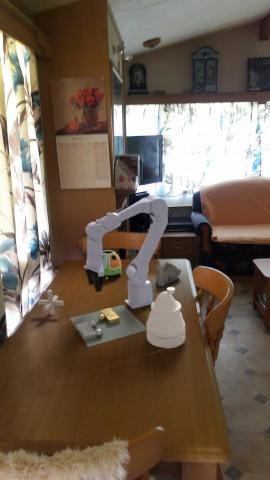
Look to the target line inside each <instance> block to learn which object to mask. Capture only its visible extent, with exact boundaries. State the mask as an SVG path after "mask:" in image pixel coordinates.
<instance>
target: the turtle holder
mask: <svg viewBox="0 0 270 480" xmlns="http://www.w3.org/2000/svg"><path fill="white" fill-rule="evenodd" d="M102 264H103V270H104V274H105V273H106V274H107V277H106V279H105V280H109V277H108V276H115V275H119V276H122V275H123V274H122V260H121V258H120V256H119V255H118V254H117V252H115V251H114V250H111V249H106V250H102Z"/></svg>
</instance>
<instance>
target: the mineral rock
mask: <svg viewBox="0 0 270 480" xmlns="http://www.w3.org/2000/svg"><path fill="white" fill-rule="evenodd" d="M181 272H182V269H181V268H178V267H176V265H174V264H172V263H171V262H170V263H169V262H167V261H166V262H165V263H164V264H162V265H160V266H159V265H158V266H157V267H156V278H155V285H157V286H158V287H165V286H166V285H167V286H168V285H169V284H170V283H172V282H174V281H177V280H178V279H179V278H180V277H179V276H180V275H181Z"/></svg>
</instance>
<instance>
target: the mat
mask: <svg viewBox="0 0 270 480" xmlns="http://www.w3.org/2000/svg"><path fill="white" fill-rule="evenodd" d="M110 308H111V309H112V310H113V311H114V312H115V313H116V314H117V315H118V316H119V317H120V323H116V324H113V325H109V324H108V323H107V321H106V320H105V321H104V322H100V320H99V319H98V315H99V314H101V310H97V311H93V312H89V313H86V314H85V313H84V314H82V315H77V316H73V317H69V320H70V321H71V323H72V325H73V326H74V328H75V329H76V330H77V332H78V334H79V336H80V337H81V338H82V340H83V341H84V343H85V345H86V346H87V347H88V348H89V347H93V346H97V345H100V344H103V343H107V342H111V341H113V340H117V339H120V338H124V337H127V336H131V335H135V334H138V333H141V332H146V331H147V328H146V327H147V326H145V325H144V324H143V323H142V322H141V321H140V320H139V319H138V318H137V317H136V316H135V314H133V313H132V312H131V310H129V309H128V308H127V307H126V306H125V305H123V304H121V305H117V306H113V307H110ZM90 320H94V321H95V322H96V324H97V326H96V328H100V329H101V330H102V331H103V336H102V337H100V338H99V337H97V338H96V339H93V340H89V341H86V342H85V340H84V339H83V337H82V336H81V334H80V333H79V331H78V329H77V324H80V323H84V322H89V321H90ZM96 328H94V331H95V329H96Z"/></svg>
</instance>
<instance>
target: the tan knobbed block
mask: <svg viewBox="0 0 270 480" xmlns="http://www.w3.org/2000/svg"><path fill="white" fill-rule="evenodd" d="M111 308H112V307H108V308H104V309H103V308H102V309H101V310H100V311H101V314H99V315H98V319H99V320H100V322H104V321H105V320H106V321H107V323H108V324H109V325H113V324H116V323H120V317H119V316H118V315H117V314H116V313H115V312H114V311H113V310H112V309H111Z"/></svg>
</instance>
